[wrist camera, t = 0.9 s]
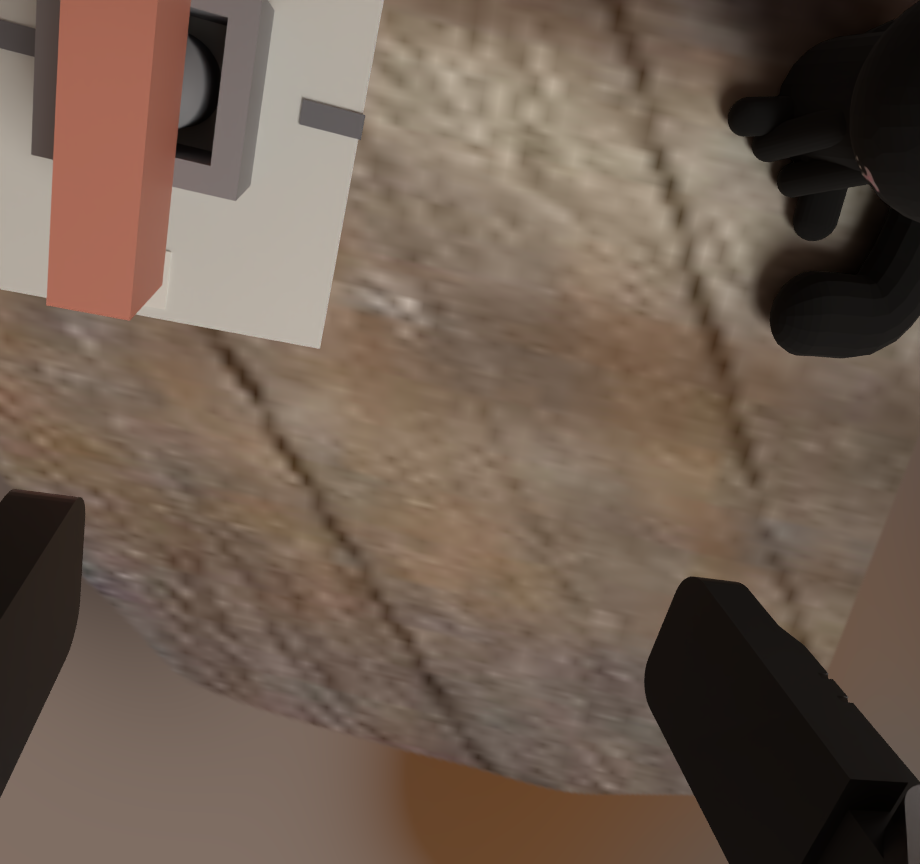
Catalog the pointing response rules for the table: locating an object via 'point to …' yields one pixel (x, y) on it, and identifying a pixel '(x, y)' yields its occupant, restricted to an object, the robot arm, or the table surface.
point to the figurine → (847, 183)
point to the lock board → (213, 218)
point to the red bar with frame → (134, 135)
